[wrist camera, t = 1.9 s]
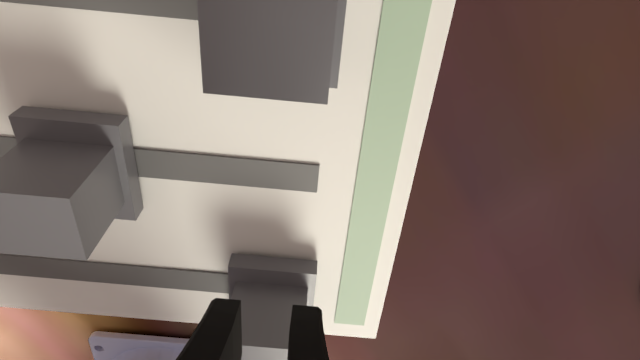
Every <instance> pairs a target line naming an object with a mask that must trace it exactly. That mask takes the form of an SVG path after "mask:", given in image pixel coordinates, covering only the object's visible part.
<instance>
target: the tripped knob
mask: <svg viewBox="0 0 640 360" xmlns="http://www.w3.org/2000/svg"><path fill="white" fill-rule="evenodd" d="M8 117H9V120H10V123H11V126H12V129H13V132H14V135H15V138H16V141H17V145H16V146H14V147H13V148H12V149H11V150H10V151H8V152H7V153H6V154H5V155H4V156H2V157H1V158H0V253H4V254H16V255H27V256H39V257H51V258H62V259H74V260H85V261H87V259H88V258H89V256H90V255H91V253H92V252H93V250H94V249H95V247H96V246H97V244H98V243H99V241H100V240H101V238H102V237H103V235H104V234H105V232H106V231H107V229H108V228H109V226H110V225H111V223H112V222H113V220H114V219H121V220H133V221H136V220H137V218H138V217H139V215H140V213H141V212H142V210H143V208H144V207H143V201H142V195H141V189H140V183H139V178H138V172H137V166H136V160H135V154H134V148H133V142H132V136H131V130H130V124H129V118H128V115H118V114H107V113H96V112H85V111H74V110H63V109H52V108H41V107H30V106H21V107H20V108H19V109H17V110H16V111H14V112H13V113H12V114H10V115H9V116H8Z"/></svg>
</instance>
